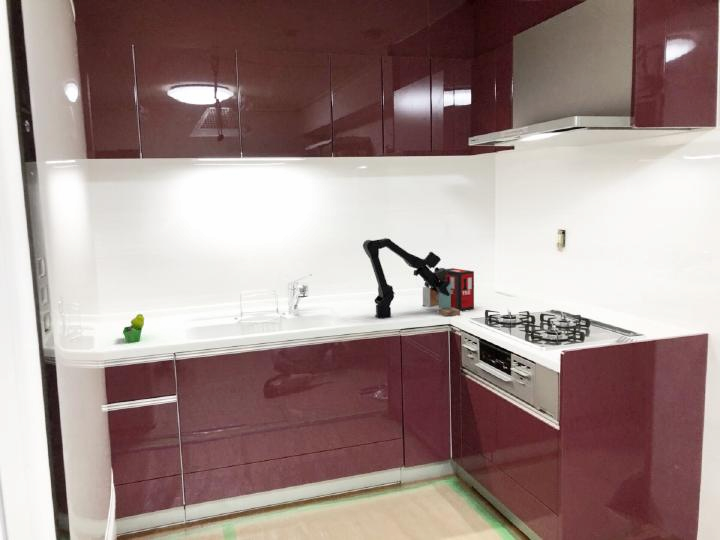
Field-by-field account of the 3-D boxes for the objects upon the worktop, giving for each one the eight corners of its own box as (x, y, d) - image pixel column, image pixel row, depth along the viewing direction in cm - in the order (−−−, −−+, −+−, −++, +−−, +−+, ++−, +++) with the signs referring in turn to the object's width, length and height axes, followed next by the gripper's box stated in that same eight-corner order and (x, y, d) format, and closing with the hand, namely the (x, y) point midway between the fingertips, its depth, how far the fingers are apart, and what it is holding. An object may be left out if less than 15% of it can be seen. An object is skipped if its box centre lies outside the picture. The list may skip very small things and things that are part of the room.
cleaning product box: (440, 306, 314) (439, 269, 312) (452, 304, 319) (452, 268, 316) (460, 311, 300) (460, 272, 298) (473, 309, 305) (473, 271, 302)
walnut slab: (445, 316, 289) (445, 311, 289) (438, 313, 296) (438, 308, 296) (460, 315, 291) (460, 310, 291) (452, 312, 299) (452, 307, 299)
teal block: (442, 308, 300) (442, 284, 298) (438, 307, 304) (438, 283, 303) (450, 308, 301) (450, 284, 300) (446, 306, 306) (446, 282, 304)
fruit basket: (125, 337, 264) (123, 313, 262) (146, 335, 267) (144, 311, 265) (123, 343, 253) (121, 318, 252) (145, 341, 256) (143, 316, 254)
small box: (430, 307, 313) (429, 287, 312) (422, 305, 318) (422, 286, 316) (440, 305, 318) (440, 286, 317) (432, 303, 323) (432, 285, 321)
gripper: (445, 265, 290) (465, 285, 295) (429, 261, 307) (448, 280, 312) (431, 282, 288) (451, 302, 293) (416, 277, 306) (435, 296, 311)
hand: (447, 294), depth 302 cm, fingers closed on teal block, 4 cm apart
